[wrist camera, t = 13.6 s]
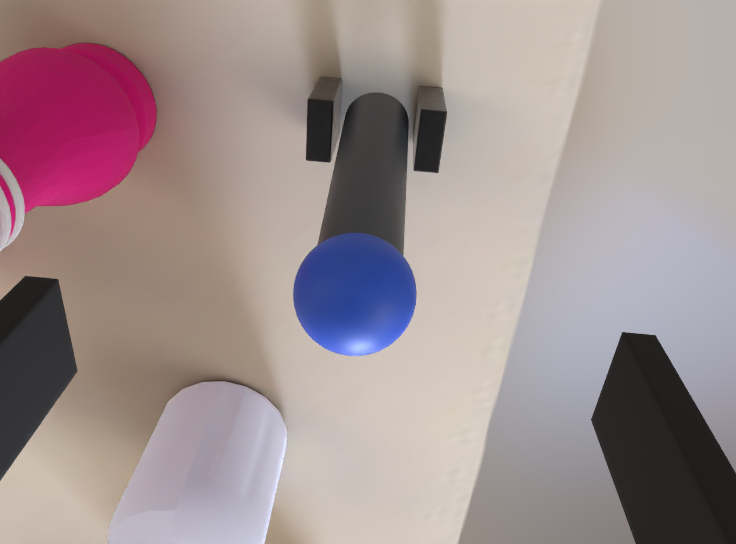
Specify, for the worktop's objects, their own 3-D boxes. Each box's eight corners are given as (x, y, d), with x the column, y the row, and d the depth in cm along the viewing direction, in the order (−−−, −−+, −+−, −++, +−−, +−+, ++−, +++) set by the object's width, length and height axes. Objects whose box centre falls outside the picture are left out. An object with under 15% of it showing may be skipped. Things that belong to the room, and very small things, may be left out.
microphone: (333, 155, 32) (336, 78, 30) (413, 163, 32) (423, 86, 30) (284, 375, 21) (281, 282, 18) (408, 387, 21) (423, 296, 18)
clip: (319, 76, 32) (307, 98, 28) (442, 87, 32) (447, 111, 28) (317, 132, 34) (305, 160, 30) (434, 143, 34) (438, 173, 30)
